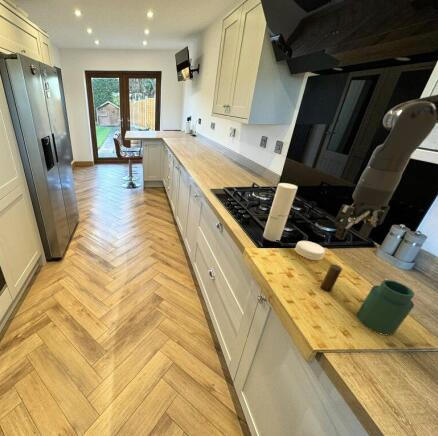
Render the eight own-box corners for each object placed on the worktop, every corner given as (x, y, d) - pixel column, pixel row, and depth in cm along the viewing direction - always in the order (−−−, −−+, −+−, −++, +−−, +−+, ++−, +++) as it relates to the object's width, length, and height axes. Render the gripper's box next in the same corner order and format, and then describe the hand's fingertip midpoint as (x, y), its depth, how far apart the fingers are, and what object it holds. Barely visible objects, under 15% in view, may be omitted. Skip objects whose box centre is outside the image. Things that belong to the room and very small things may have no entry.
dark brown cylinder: (329, 287, 79) (339, 265, 76) (332, 293, 77) (343, 271, 73) (319, 284, 80) (329, 263, 76) (321, 290, 78) (332, 269, 74)
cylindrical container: (281, 242, 105) (299, 189, 94) (263, 239, 107) (279, 186, 96) (278, 235, 111) (295, 184, 100) (262, 232, 113) (277, 182, 102)
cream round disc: (328, 261, 93) (331, 254, 91) (303, 260, 93) (306, 253, 91) (312, 247, 102) (315, 240, 100) (290, 246, 102) (292, 239, 100)
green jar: (384, 315, 69) (407, 281, 63) (401, 339, 62) (429, 303, 56) (351, 308, 71) (371, 274, 66) (364, 329, 64) (387, 294, 59)
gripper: (369, 190, 58) (342, 245, 65) (413, 189, 61) (383, 242, 68) (341, 181, 65) (320, 232, 72) (382, 180, 67) (357, 229, 74)
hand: (350, 237), depth 70 cm, fingers open, 8 cm apart
